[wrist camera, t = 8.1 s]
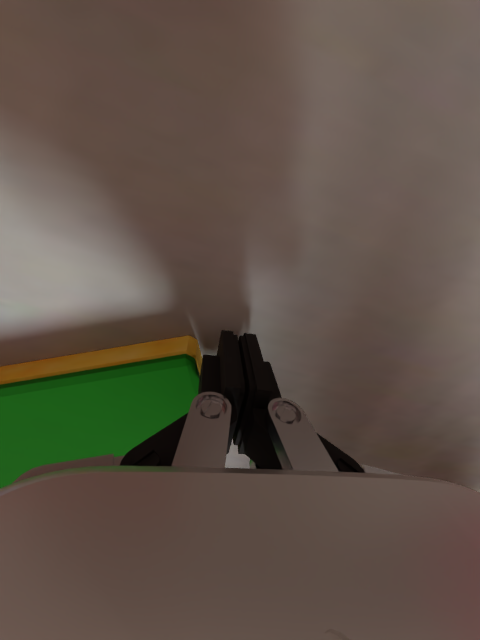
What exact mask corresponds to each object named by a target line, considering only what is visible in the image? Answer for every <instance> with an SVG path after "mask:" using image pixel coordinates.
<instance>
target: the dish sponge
mask: <svg viewBox="0 0 480 640" xmlns="http://www.w3.org/2000/svg"><path fill="white" fill-rule="evenodd" d="M201 365H202V356H201V352H200V348H199V344H198V340H197V339H195V338H193V337H191V336H190V335H188V336H182V337H176V338H170V339H164V340H158V341H152V342H146V343H140V344H134V345H128V346H122V347H116V348H110V349H104V350H98V351H92V352H85V353H79V354H73V355H67V356H61V357H55V358H49V359H43V360H37V361H31V362H25V363H19V364H13V365H7V366H1V367H0V488H2V487H5V486H7V485H10V484H12V483H13V482H14V481H15V480H16V479H17V478H18V477H19V476H21V475H22V474H24V473H25V472H27V471H29V470H31V469H32V468H36V467H39V466H42V465H47V464H53V463H59V462H66V461H72V460H78V459H84V458H90V457H96V456H102V455H109V454H114V457H118V456H124V455H126V453H128V452H129V451H130V450H131V449H132V448H134V447H135V446H137V445H138V444H140V443H142V442H143V441H145V440H146V439H148V438H149V437H151V436H152V435H154V434H156V433H157V432H159V431H160V430H162V429H163V428H165V427H166V426H168V425H170V424H171V423H173V422H174V421H176V420H177V419H179V418H180V417H182V416H184V415H185V414H187V413H188V412H189V409H190V406H191V403H192V401H193V399H194V398H195V397H196V396H197V395H198V388H199V379H200V371H201Z"/></svg>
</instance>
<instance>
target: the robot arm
mask: <svg viewBox="0 0 480 640" xmlns="http://www.w3.org/2000/svg"><path fill="white" fill-rule="evenodd" d="M232 438H233V443H234V445H238V453H239V454H246V455H247V456H248V457H249V458H250V469H245V468H225V462H226V455H227V454H228V453H229V449H230V445H231V442H232ZM0 640H480V492H477V491H475V490H472V489H470V488H467V487H465V486H462V485H459V484H455V483H452V482H448V481H444V480H439V479H433V478H427V477H418V476H409V475H402V474H398V473H394V472H391V471H387V470H383V469H380V468H376V467H372V466H369V465H365V464H362V466H360V465H359V464H358V463H357V462H356V461H355V460H353V459H352V458H351V457H350V456H348V455H347V454H345V453H344V452H343V451H341V450H340V449H338V448H337V447H335V446H334V445H333V444H331V443H330V442H328V441H327V440H326V439H324V438H323V437H321V436H320V435H319V434H317V433H316V432H315V430H314V428H313V427H312V425H311V423H310V421H309V420H308V418H307V416H306V415H305V413H304V411H303V410H302V409H301V407H300V406H299V405H297V404H296V403H295V402H293V401H291V400H289V399H286V398H282V397H281V394H280V391H279V388H278V385H277V382H276V379H275V376H274V373H273V370H272V367H271V364H270V363H269V362H265V361H263V357H262V354H261V351H260V347H259V344H258V341H257V337H256V335H255V334H247V333H244V335H243V336H239V340H238V338H237V335H234V334H233V332H232V331H224V330H222V331H221V336H220V341H219V346H218V351H217V356H212V355H203V359H202V365H201V371H200V379H199V388H198V395H197V396H196V397H195V398H194V399H193V401H192V403H191V406H190V409H189V412H188V413H187V414H185V415H184V416H182V417H180V418H179V419H177V420H176V421H174V422H173V423H171V424H170V425H168V426H166V427H165V428H163V429H162V430H160V431H159V432H157V433H156V434H154V435H152V436H151V437H149V438H148V439H146V440H145V441H143V442H142V443H140V444H138V445H137V446H135V447H134V448H132V449H131V450H130V451H129V452H128V453H126V455H124V456H118V457H114V454H109V455H102V456H96V457H90V458H84V459H78V460H72V461H66V462H59V463H53V464H47V465H42V466H39V467H36V468H32V469H31V470H29V471H27V472H25V473H24V474H22V475H21V476H19V477H18V478H17V479H16V480H15V481H14V482H13V483H12V484H10V485H7V486H5V487H2V488H0Z"/></svg>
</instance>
